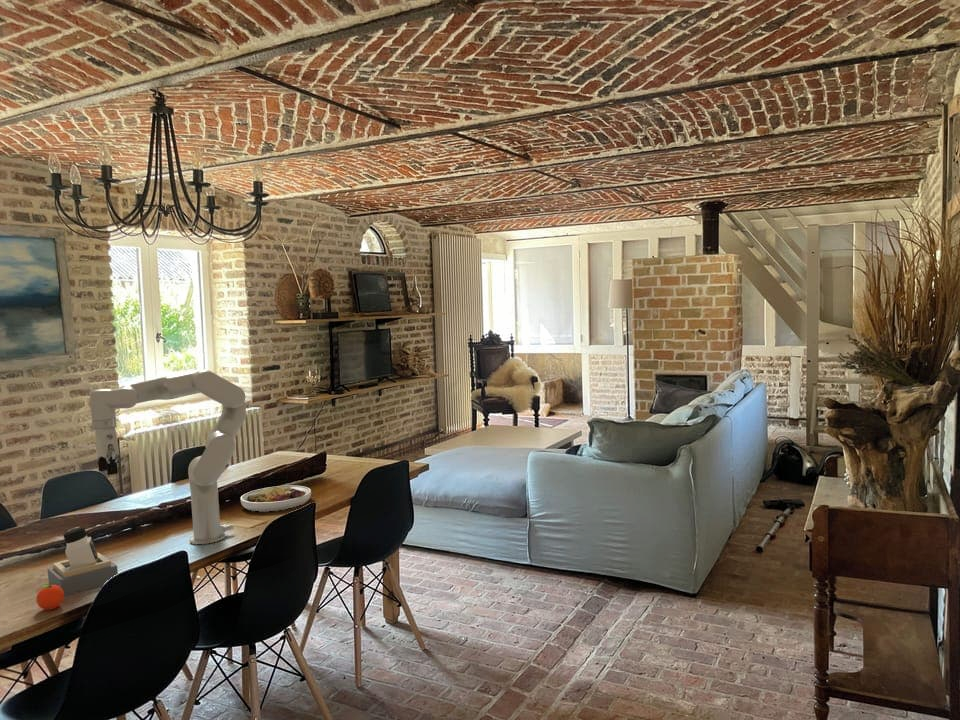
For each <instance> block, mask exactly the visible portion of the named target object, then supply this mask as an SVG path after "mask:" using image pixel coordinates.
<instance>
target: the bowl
mask: <svg viewBox="0 0 960 720" xmlns="http://www.w3.org/2000/svg"><path fill="white" fill-rule="evenodd" d="M311 494H312V490H311V488H309V487H307V486H305V485H304V486H303V485H283V484H282V485H277V486H271V487H270V486H269V487H264V488H259V489H255V490H251V491H249V492H247V493H244V494H243V495H241V496H240V503H241V505H242V507H243V508H244V509H246V510H248V511H250V510H251V512H255V511H259V512H258V513H270V512H269V511H275V512H280V511H279V510H282V511H285V510H284V509H288V508H292V509H294V508H293V507H295V508H297V507H296V506H298V507H300V506H299V505H301V506H303V505H304V504H306V503H307V502H308V501H309V500H310V498H311ZM288 510H289V509H288Z"/></svg>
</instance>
